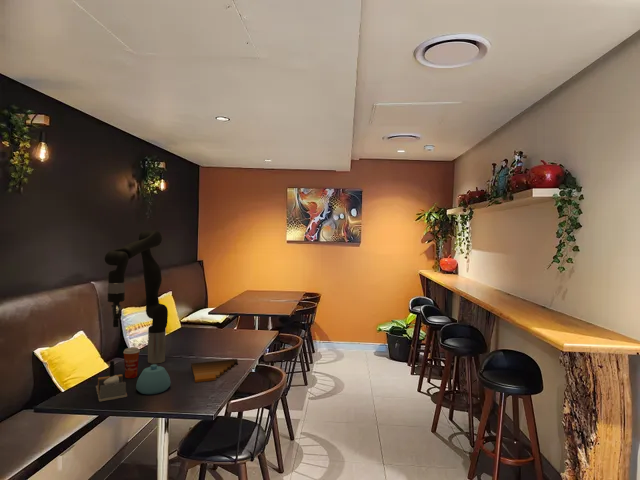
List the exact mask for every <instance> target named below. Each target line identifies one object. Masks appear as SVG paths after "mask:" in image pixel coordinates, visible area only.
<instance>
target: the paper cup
mask: <svg viewBox="0 0 640 480" xmlns="http://www.w3.org/2000/svg"><path fill="white" fill-rule="evenodd" d="M140 352H141V350H140V349H139V347H128V348H125V349H124V350H123V361H124V362H123V363H124V365H123V366H124V378H125V379H134V378H137V377H138V370H139V359H140V358H139V357H140Z"/></svg>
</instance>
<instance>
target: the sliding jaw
mask: <svg viewBox="0 0 640 480" xmlns="http://www.w3.org/2000/svg"><path fill="white" fill-rule="evenodd" d="M114 376H118V377H119V383H120V382H123V377H124V376H123V374H114ZM109 377H110V375H108V376H101V377H100V376H99V377H97V385H98V390H100V386H101V385H104V381H105V380H106V379H108V378H109Z"/></svg>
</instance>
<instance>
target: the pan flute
mask: <svg viewBox="0 0 640 480" xmlns="http://www.w3.org/2000/svg"><path fill="white" fill-rule="evenodd" d="M238 362H239V361H238V358H233V359H223V360H213V361H202V362H193V363H191V364H190V369H191V372H192V377H193V379H194V380H193V381H194V383H201V382H202V383H203V382H210V381H211V382H212V381H216V380H217V378H220V377H221V376H223V375H224V373H227V372H228V371H230V370H232V368H234V367H235V366H236V365H238Z"/></svg>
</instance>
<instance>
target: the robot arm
mask: <svg viewBox="0 0 640 480" xmlns="http://www.w3.org/2000/svg"><path fill="white" fill-rule="evenodd" d="M162 240H163V237H162V233H161V232H160V231H158V230H142V231H140V233H139V235H138V240H135V241H132V242H129V243H128V244H125V245H124V246H121V247H117V248H115V249H112V250H110V251H108V252H107V253H106V254H105V255H104V261H105V264H106V265H108V266H116V268H115V269H113V270H110V271H109V272H108V277H107V278H108V285H107V303H108V302H109V303H112V304H111V305H110V308H111V317H112V327H113V328H119V320H120V316H121V312H122V311H121V309H122V305H121V304H120V303H122V302H124V301H125V296H126V295H125V293H126V291H125V290H126V289H125V287H126V286H125V273H126V270H127V267H128V264H129V260H130V259H132V258H134V257H136V256H137V255H139V254H141V260H142V261H141V262H142V269H143V280H144V288H145V289H144V292H145V314H146V315H147V317H148V319H151V320H152V322H151V323H152V324H151V325H149V326H148V328H147V331H148V333H147V363H148V364H151V365H153V364H156V365H157V364H161V363H164V362H165V361H166V329H167V326H168V320H169V319H168V316H169V311H168V307H167V306H166V305H165V304H162V303H160V300H159V290H160V288H161V284H162V269H161V267H160V266H159V264H158V262H157V261H156V260H155V258H154V256H153V255H152V252H151V249H153V248H155V247H158V246H160V245H161V244H162Z"/></svg>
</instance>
